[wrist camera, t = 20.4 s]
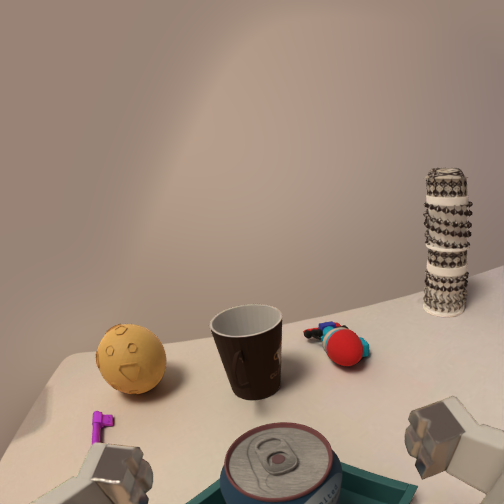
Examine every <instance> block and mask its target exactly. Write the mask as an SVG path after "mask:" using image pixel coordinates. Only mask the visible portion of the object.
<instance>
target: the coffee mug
mask: <svg viewBox="0 0 504 504" xmlns="http://www.w3.org/2000/svg"><path fill="white" fill-rule="evenodd" d="M210 329H211V331H212V334H213V337H214V340H215V343H216V346H217V349H218V352H219V354H220V357H221V360H222V363H223V365H224V368H225V371H226V374H227V376H228V379H229V382H230V384H231V387H232V390H233V392H234V393H235V395H237V396H238V397H240V398H242V399H246V400H260V399H264V398H267V397H269V396H271V395H273V394H274V393H275V392H276V391H277V390H278V389H279V387H280V377H281V344H282V313H281V312H280V311H279V310H278V309H277V308H275V307H272V306H269V305H262V304H249V305H242V306H237V307H233V308H230V309H227V310H225V311H222V312H220V313H219V314H217V315H216V316H215V317H213V318H212V320H211V322H210Z"/></svg>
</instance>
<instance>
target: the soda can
mask: <svg viewBox="0 0 504 504" xmlns="http://www.w3.org/2000/svg"><path fill="white" fill-rule="evenodd" d="M341 482H342V466H341V463H340V460H339V458H338V457H337V455H336V454H335V452H334V451H333V450H332V449H331V446H330V444H329V442H328V441H327V439H326V438H325V437H324V436H323V435H322V434H321V433H319V432H318V431H316V430H314V429H313V428H310V427H308V426H305V425H301V424H297V423H287V422H281V423H271V424H266V425H262V426H259V427H256V428H254V429H252V430H250V431H248V432H246V433H244V434H243V435H241V436H240V437H239V438H238V439H236V440H235V441H234V443H233V444H232V445H231V446H230V448H229V450H228V451H227V454H226V457H225V462H224V466H223V468H222V471H221V475H220V488H221V492H222V495H223V497H224V499H225V502H226V504H339V498H340V490H341Z"/></svg>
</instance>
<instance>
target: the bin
mask: <svg viewBox="0 0 504 504" xmlns="http://www.w3.org/2000/svg"><path fill="white" fill-rule="evenodd" d="M340 463H341V466H342V482H341V490H340V498H339V504H410V502H411V500H412V498H413V496H414V494H415V492H416V490H417V488H418V486H416V485H412V484H408V483H404V482H400V481H397V480H393V479H390V478H387V477H383V476H380V475H377V474H374V473H371V472H368V471H365V470H362V469H359V468H356V467H353V466H350V465H347V464H345V463H342V462H340ZM186 504H226V502H225V499H224V497H223V495H222V492H221V488H220V479H218V480H217V481H216V482H215V483H213V484H212V485H211V486H209V487H208V488H207V489H205V490H204V491H203V492H201V493H200V494H198V495H197V496H196V497H194V498H193V499H191V500H190V501H189V502H187V503H186Z"/></svg>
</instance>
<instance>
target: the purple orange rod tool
mask: <svg viewBox="0 0 504 504" xmlns="http://www.w3.org/2000/svg"><path fill="white" fill-rule="evenodd" d="M92 425H93V432H92V445H93V444H94V443H95V442H98V443H100V428H103V426H113V416H112V415H103V414H102V412H99V411H95V412H94V413H93V422H92Z"/></svg>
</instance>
